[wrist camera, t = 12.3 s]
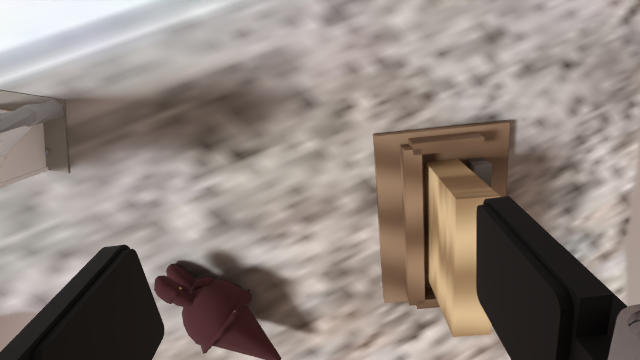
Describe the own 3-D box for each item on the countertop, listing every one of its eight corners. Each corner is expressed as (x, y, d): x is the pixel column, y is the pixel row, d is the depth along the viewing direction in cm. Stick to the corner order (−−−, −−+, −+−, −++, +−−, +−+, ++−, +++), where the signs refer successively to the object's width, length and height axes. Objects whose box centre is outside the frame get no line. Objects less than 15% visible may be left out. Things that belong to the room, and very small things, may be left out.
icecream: (304, 351, 37) (176, 252, 35) (254, 410, 37) (123, 315, 35) (301, 318, 44) (194, 234, 42) (258, 368, 44) (150, 287, 42)
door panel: (425, 161, 36) (456, 199, 27) (469, 158, 36) (514, 194, 27) (425, 273, 40) (453, 336, 31) (465, 270, 40) (503, 333, 31)
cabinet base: (373, 134, 36) (377, 142, 33) (505, 120, 36) (520, 127, 33) (383, 297, 42) (387, 315, 39) (496, 287, 42) (508, 305, 39)
